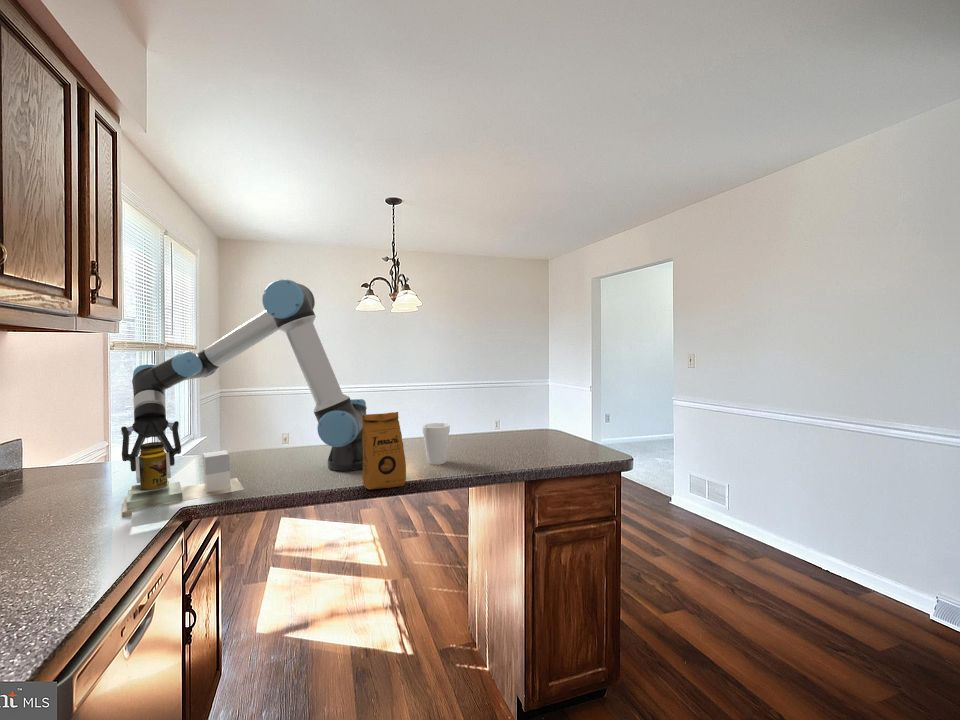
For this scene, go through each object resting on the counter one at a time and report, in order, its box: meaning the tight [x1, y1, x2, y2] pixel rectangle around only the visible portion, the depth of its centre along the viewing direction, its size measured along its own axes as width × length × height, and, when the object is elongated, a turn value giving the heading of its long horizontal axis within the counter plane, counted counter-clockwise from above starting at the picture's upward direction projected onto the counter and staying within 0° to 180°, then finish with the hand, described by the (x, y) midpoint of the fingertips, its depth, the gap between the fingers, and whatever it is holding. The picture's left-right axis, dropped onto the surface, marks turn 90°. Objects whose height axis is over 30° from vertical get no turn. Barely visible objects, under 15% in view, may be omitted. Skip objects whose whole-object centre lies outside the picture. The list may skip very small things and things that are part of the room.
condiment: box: [130, 441, 170, 494], centre depth 127 cm, size 7×8×12 cm
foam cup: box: [422, 422, 451, 466], centre depth 164 cm, size 10×9×13 cm
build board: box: [121, 477, 245, 518], centre depth 132 cm, size 28×14×3 cm, turn 126°
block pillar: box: [202, 449, 231, 492], centre depth 137 cm, size 6×6×10 cm
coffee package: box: [362, 411, 407, 490], centre depth 139 cm, size 10×12×22 cm
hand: (153, 477), depth 125 cm, fingers closed on condiment, 6 cm apart
